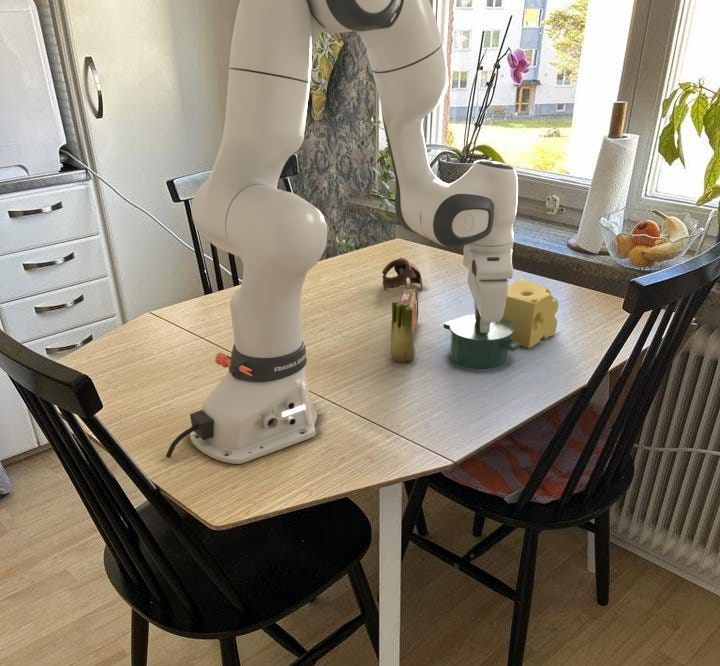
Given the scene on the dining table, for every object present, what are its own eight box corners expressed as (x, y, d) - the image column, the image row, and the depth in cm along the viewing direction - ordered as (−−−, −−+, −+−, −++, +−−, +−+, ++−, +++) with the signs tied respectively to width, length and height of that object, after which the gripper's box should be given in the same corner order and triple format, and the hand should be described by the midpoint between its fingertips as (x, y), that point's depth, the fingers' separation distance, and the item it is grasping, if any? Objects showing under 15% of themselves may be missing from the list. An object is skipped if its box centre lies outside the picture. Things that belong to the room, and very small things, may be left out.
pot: (496, 381, 136) (499, 351, 132) (428, 356, 145) (429, 326, 142) (530, 361, 142) (534, 332, 139) (462, 338, 152) (464, 310, 148)
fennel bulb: (388, 355, 146) (388, 298, 139) (411, 353, 146) (413, 296, 139) (393, 367, 141) (393, 309, 134) (417, 365, 142) (419, 308, 135)
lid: (488, 351, 133) (491, 325, 130) (436, 333, 140) (437, 308, 138) (526, 331, 141) (529, 306, 138) (474, 314, 148) (476, 290, 145)
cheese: (555, 334, 153) (562, 289, 147) (528, 350, 146) (534, 304, 141) (514, 322, 159) (519, 277, 153) (486, 337, 152) (490, 291, 146)
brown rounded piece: (429, 295, 174) (416, 270, 168) (394, 312, 176) (379, 288, 170) (420, 267, 181) (407, 242, 175) (387, 283, 184) (373, 259, 178)
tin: (409, 348, 148) (410, 309, 144) (394, 347, 149) (394, 308, 144) (419, 320, 160) (420, 283, 156) (405, 319, 161) (405, 282, 156)
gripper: (462, 238, 140) (458, 306, 148) (478, 274, 123) (472, 348, 131) (495, 237, 140) (489, 305, 148) (515, 273, 123) (507, 347, 131)
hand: (481, 325), depth 140 cm, fingers open, 4 cm apart
